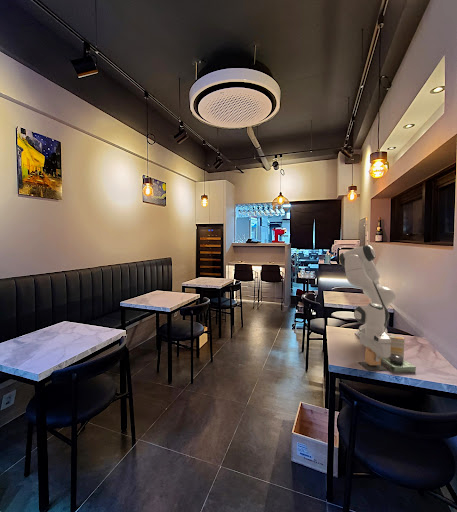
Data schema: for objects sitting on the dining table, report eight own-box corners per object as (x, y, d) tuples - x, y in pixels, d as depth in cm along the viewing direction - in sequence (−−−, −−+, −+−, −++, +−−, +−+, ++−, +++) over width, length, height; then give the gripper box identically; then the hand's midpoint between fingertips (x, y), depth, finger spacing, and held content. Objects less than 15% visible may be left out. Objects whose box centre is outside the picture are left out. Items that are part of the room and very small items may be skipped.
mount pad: (358, 362, 140) (358, 361, 140) (376, 362, 141) (376, 361, 141) (368, 371, 131) (368, 369, 131) (388, 370, 132) (388, 369, 132)
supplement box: (401, 358, 147) (403, 336, 146) (403, 361, 143) (405, 339, 142) (385, 355, 150) (386, 333, 150) (386, 358, 146) (388, 336, 145)
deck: (377, 361, 141) (378, 351, 141) (397, 361, 142) (398, 351, 142) (393, 372, 129) (394, 361, 129) (415, 372, 130) (416, 361, 130)
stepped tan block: (364, 361, 138) (365, 347, 137) (375, 361, 138) (375, 347, 138) (370, 365, 133) (370, 350, 133) (380, 365, 134) (381, 350, 133)
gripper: (357, 327, 145) (356, 350, 146) (382, 341, 124) (380, 367, 125) (367, 327, 145) (366, 350, 146) (393, 341, 125) (392, 367, 126)
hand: (373, 358), depth 136 cm, fingers closed on stepped tan block, 4 cm apart
